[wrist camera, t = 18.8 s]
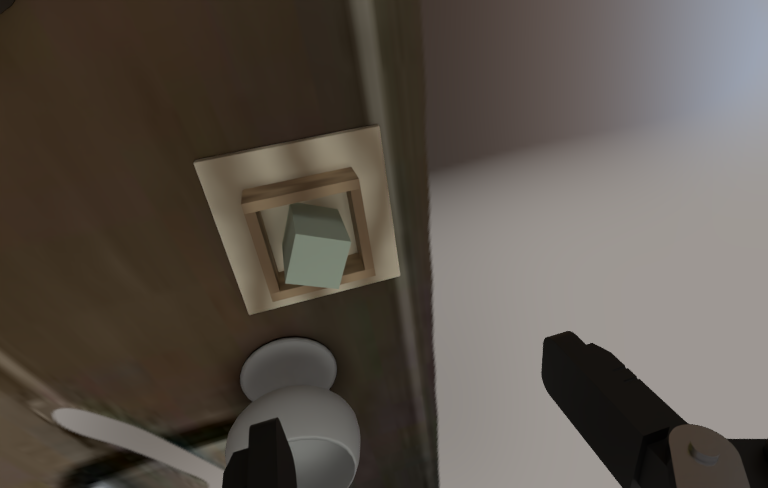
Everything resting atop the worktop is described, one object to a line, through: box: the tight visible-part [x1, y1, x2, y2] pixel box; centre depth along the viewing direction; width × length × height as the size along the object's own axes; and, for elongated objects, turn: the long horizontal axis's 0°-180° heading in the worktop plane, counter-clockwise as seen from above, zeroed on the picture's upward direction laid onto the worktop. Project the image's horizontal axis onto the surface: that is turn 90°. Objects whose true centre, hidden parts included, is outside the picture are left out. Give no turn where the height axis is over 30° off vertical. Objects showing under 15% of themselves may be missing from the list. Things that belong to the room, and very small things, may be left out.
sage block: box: [282, 203, 351, 289], centre depth 41 cm, size 5×5×8 cm
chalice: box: [225, 337, 360, 488], centre depth 48 cm, size 14×14×15 cm
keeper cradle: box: [194, 124, 400, 315], centre depth 43 cm, size 18×18×5 cm
